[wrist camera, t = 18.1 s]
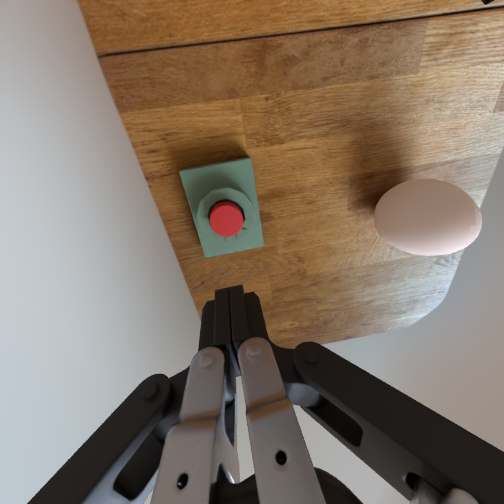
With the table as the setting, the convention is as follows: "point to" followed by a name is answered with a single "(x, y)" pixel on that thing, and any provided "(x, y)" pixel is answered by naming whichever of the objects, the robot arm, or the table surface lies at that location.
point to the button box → (218, 190)
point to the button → (226, 219)
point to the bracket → (486, 1)
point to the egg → (427, 217)
